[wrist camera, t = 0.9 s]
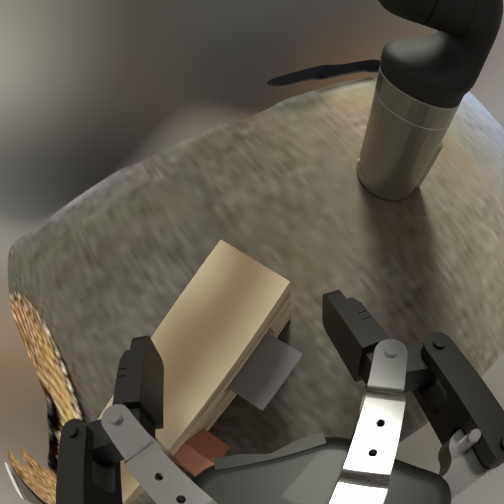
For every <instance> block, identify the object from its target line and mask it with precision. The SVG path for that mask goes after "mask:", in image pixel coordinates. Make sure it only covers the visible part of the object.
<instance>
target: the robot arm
mask: <svg viewBox="0 0 504 504" xmlns="http://www.w3.org/2000/svg"><path fill="white" fill-rule="evenodd" d="M378 1H379V2H380V3H381V5H382V6H383V7H384V8H385V9H386V10H388V11H389V12H391V13H392V14H395V15H397V16H399V17H402V18H404V19H407V20H409V21H412V22H416V23H419V24H422V25H425V26H428V27H430V28H433V29H436V30H439V31H438V32H437V33H435V34H433V35H430V36H426V37H421V38H409V39H397V40H393V41H390V42H388V43H387V44H386V45H385V47H384V48H383V51H382V56H381V61H380V67H379V73H378V78H377V83H376V88H375V93H374V98H373V102H372V107H371V111H370V116H369V120H368V124H367V128H366V132H365V136H364V140H363V144H362V148H361V152H360V156H359V159H358V163H357V174H358V176H359V179H360V181H361V182H362V184H363V185H364V186H365V187H366V189H368V190H369V191H370V192H371V193H372V194H374V195H376V196H377V197H380V198H382V199H385V200H390V201H398V200H403V199H405V198H407V197H408V196H409V195H410V194H411V193H412V191H413V190H414V188H417V187H420V185H421V183H422V182H423V180H424V178H425V177H426V175H427V174H428V172H429V170H430V168H431V167H432V165H433V163H434V162H435V160H436V158H437V156H438V155H439V153H440V151H441V149H442V147H443V144H442V142H441V141H442V139H443V137H444V135H445V133H446V131H447V129H448V127H449V125H450V123H451V121H452V119H453V117H454V115H455V113H456V111H457V109H458V106H459V104H460V102H461V100H462V98H463V96H464V95H465V94H466V93H467V92H468V91H470V89H471V88H472V87H473V85H474V84H475V82H476V80H477V78H478V76H479V74H480V71H481V69H482V67H483V65H484V63H485V61H486V59H487V57H488V54H489V52H490V50H491V48H492V46H493V43H494V41H495V39H496V36H497V33H498V30H499V28H500V24H501V20H502V15H503V0H378ZM323 325H324V328H325V330H326V332H327V334H328V336H329V337H330V339H331V341H332V343H333V344H334V346H335V348H336V349H337V351H338V353H339V355H340V356H341V358H342V360H343V361H344V363H345V365H346V367H347V368H348V370H349V372H350V374H351V375H352V377H353V379H354V381H355V382H358V381H360V380H364V382H365V383H366V386H365V390H364V394H363V398H362V402H361V405H360V409H359V413H358V416H357V420H356V423H355V426H354V429H353V432H352V435H351V438H350V439H346V438H340V437H326V438H324V435H323V433H322V432H321V433H318V434H315V435H312V436H309V437H305V438H302V439H299V440H296V441H294V442H292V443H290V444H288V445H287V446H285V447H283V448H281V449H279V450H277V451H275V452H273V453H270V454H237V455H231V456H225V457H219V458H213V459H214V465H212V466H210V467H208V468H206V469H204V470H203V471H201V472H200V473H199V474H197V475H196V476H195V475H194V474H193V473H192V472H191V471H189V470H188V469H187V468H186V467H185V466H184V465H183V464H182V463H181V462H180V461H178V460H177V459H176V458H175V456H174V455H173V454H172V453H171V452H170V451H169V450H168V449H167V448H166V447H165V446H164V445H163V444H162V443H161V442H160V441H159V440H158V438H157V437H156V436H155V429H163V428H164V421H163V397H164V365H163V361H162V358H161V356H160V354H159V353H158V351H157V349H156V347H155V345H154V344H153V342H152V340H151V338H150V337H149V336H143V337H137V338H133V339H132V342H131V348H130V350H127V351H125V352H124V354H123V355H122V357H121V358H120V361H119V367H118V372H117V378H116V384H115V390H114V396H113V403H112V406H110V407H108V408H107V409H106V410H105V411H104V413H103V415H102V418H101V419H99V420H96V421H93V422H91V423H88V424H85V423H84V422H82V421H81V420H79V419H71V420H69V421H68V422H66V423H65V425H64V426H63V428H62V431H61V438H60V446H59V455H58V467H57V483H56V504H123V500H122V487H121V466H120V461H122V460H125V462H124V464H125V466H126V467H127V469H128V470H129V471H130V473H131V474H132V475H133V476H134V478H135V479H136V480H137V481H138V483H139V484H140V485H141V486H142V487H143V489H144V490H145V491H146V492H147V493H148V495H149V496H150V497H151V498H152V499H153V500H154V501H155V502H156V504H451V498H453V497H454V496H455V495H457V494H459V493H460V492H461V491H463V490H464V489H466V488H467V487H468V486H470V485H471V484H472V483H473V482H475V481H476V480H477V479H479V478H480V477H482V476H484V475H485V474H487V473H489V472H490V471H492V470H493V469H495V468H496V467H498V466H500V465H501V464H502V463H504V411H503V409H502V407H501V406H500V404H499V403H498V401H497V400H496V399H495V397H494V396H493V394H492V393H491V391H490V390H489V388H488V387H487V386H486V384H485V383H484V381H483V380H482V379H481V377H480V376H479V374H478V373H477V372H476V370H475V369H474V368H473V366H472V365H471V364H470V362H469V361H468V360H467V359H466V357H465V356H464V355H463V353H462V352H461V351H460V350H459V348H458V347H457V346H456V345H455V343H454V342H453V341H452V340H451V339H450V338H449V337H448V336H447V335H445V334H443V333H440V332H434V333H431V334H429V335H428V336H427V337H426V338H425V340H424V343H420V344H413V345H404V344H403V343H402V342H400V341H398V340H395V339H390V338H389V337H388V336H387V334H386V333H385V332H384V331H383V329H382V328H381V327H380V325H379V324H378V323H377V322H376V320H375V319H374V318H373V317H372V315H371V314H370V313H369V312H368V311H367V309H366V308H365V307H364V306H363V304H362V303H361V302H359V301H357V300H356V299H354V298H352V297H351V298H348V299H346V297H345V296H344V295H343V294H342V292H341V291H340V290H336V291H333V292H330V293H326V294H324V295H323ZM411 390H412V392H413V394H414V395H415V397H416V399H417V401H418V402H419V404H420V406H421V408H422V409H423V411H424V413H425V415H426V416H427V418H428V420H429V422H430V423H431V425H432V427H433V429H434V431H435V433H436V434H437V436H438V438H439V440H440V442H441V444H442V447H441V448H440V451H439V455H438V458H439V463H440V472H439V475H438V474H436V473H434V472H431V471H428V470H425V469H422V468H419V467H416V466H413V465H410V464H408V463H405V462H403V461H400V460H397V459H395V454H396V449H397V446H398V441H399V436H400V431H401V426H402V420H403V415H404V408H405V402H406V394H404V392H405V391H411Z"/></svg>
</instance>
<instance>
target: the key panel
mask: <svg viewBox="0 0 504 504" xmlns="http://www.w3.org/2000/svg"><path fill="white" fill-rule="evenodd" d="M290 317H291V313H290V281H288V280H287V279H285V278H283V277H282V276H280V275H278V274H277V273H275V272H273V271H272V270H270V269H268V268H267V267H265V266H263V265H262V264H260V263H258V262H257V261H255V260H253V259H252V258H250V257H248V256H247V255H245V254H244V253H242V252H240V251H239V250H237V249H235V248H234V247H232V246H230V245H229V244H227V243H225V242H224V241H222V240H220V241H219V243H218V244H217V245H216V247H215V248H214V249H213V251H212V252H211V254H210V255H209V256H208V258H207V259H206V260H205V262H204V263H203V265H202V266H201V267H200V269H199V270H198V272H197V273H196V274H195V276H194V277H193V279H192V280H191V281H190V283H189V284H188V286H187V287H186V288H185V290H184V291H183V293H182V294H181V295H180V297H179V298H178V300H177V301H176V303H175V304H174V305H173V307H172V308H171V310H170V311H169V313H168V314H167V315H166V317H165V318H164V320H163V321H162V323H161V324H160V326H159V327H158V329H157V330H156V331H155V333H154V334H153V336H152V337H151V340H152V342H153V344H154V345H155V347H156V349H157V351H158V353H159V354H160V356H161V358H162V361H163V365H164V397H163V421H164V428H163V429H155V436H156V437H157V438H158V440H159V441H160V442H161V443H162V444H163V445H164V446H165V447H166V448H167V449H168V450H169V451H170V452H171V453H172V454H173V455H174V456H175V455H176V453H177V452H178V451H179V450H180V449H181V447H182V446H183V445H184V444H185V443H186V442H187V441H189V440H190V439H191V438H193V437H194V436H195V435H197V434H198V433H199V432H200V431H202V430H203V429H205V430H207V431H209V430H210V429H211V427H212V426H213V425H214V424H215V422H216V421H217V420H218V418H219V417H220V416H221V415H222V413H223V412H224V411H225V409H226V408H227V407H228V406H229V404H230V403H231V402H232V400H233V399H234V398H235V396H236V395H237V394H236V393H235V392H234V391H232V390H231V389H229V388H228V387H229V385H230V384H231V383H232V381H233V380H234V379H235V377H236V376H237V375H238V373H239V372H240V370H241V369H242V368H243V366H244V365H245V363H246V362H247V361H248V359H249V358H250V356H251V355H252V353H253V352H254V351H255V349H256V348H257V346H258V345H259V343H260V342H261V340H262V339H263V338H264V336H265V335H266V333H267V332H268V333H270V334H271V335H273V336H274V337H276V338H277V337H278V336H279V334H280V333H281V331H282V330H283V328H284V327H285V325H286V324H287V322H288V321H289V319H290ZM113 396H114V395H113ZM112 403H113V397H112V398H111V400H110V401H109V403H108V404H107V406H106V408H105V409H104V411H105V410H106V409H107V408H108V407H110V406H112ZM104 411H103V412H102V414H101V415H100V417H99V419H101V418H102V415H103V413H104ZM99 419H98V420H99ZM124 462H125V460H122V461H120V466H121V487H122V500H123V504H128V503H130V502H131V501H132V500H134V499H135V498H137V497H138V496H139V495H141V494H142V493H143V492H145V490H144V489H143V487H142V486H141V485H140V484H139V483H138V481H137V480H136V479H135V478H134V476H133V475H132V474H131V473H130V471H129V470H128V469H127V467H126V466H125V464H124Z"/></svg>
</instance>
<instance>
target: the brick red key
mask: <svg viewBox="0 0 504 504" xmlns="http://www.w3.org/2000/svg"><path fill="white" fill-rule="evenodd" d="M229 448H230V446H228V445H227V444H225V443H224V442H222V441H221V440H219V439H218V438H217V437H215V436H214V435H212V434H211V433H209V432H208V431H207V430H205V429H203V430H202V431H200V432H199V433H198V434H197V435H195V436H194V437H193V438H191V439H190V440H189V441H187V442H186V443H185V444H184V445H183V446H182V447H181V449H180V450H179V451H178V452H177V453H176V455H175V458H176V459H177V460H178V461H180V462H181V463H182V464H183V465H184V466H185V467H186V468H187V469H188V470H189V471H191V472H192V473H193V474H194V475H195V476H196V475H197V474H199V473H200V472H201V471H203V470H204V469H206V468H208V467H210V466H212V465H214V459H213V458H219V457H224V455H225V454H226V453H227V451H228V450H229Z"/></svg>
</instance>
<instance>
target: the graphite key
mask: <svg viewBox="0 0 504 504" xmlns="http://www.w3.org/2000/svg"><path fill="white" fill-rule="evenodd" d="M302 355H303V354H302V353H300V352H298V351H297V350H295V349H293V348H292V347H290V346H289V345H287V344H285V343H284V342H282V341H281V340H279V339H278V338H276V337H274V336H273V335H271V334H270V333H268V332H267V333H266V335H265V336H264V338H263V339H262V340H261V342H260V343H259V345H258V346H257V348H256V349H255V351H254V352H253V353H252V355H251V356H250V358H249V359H248V361H247V362H246V363H245V365H244V366H243V368H242V369H241V370H240V372H239V373H238V375H237V376H236V377H235V379H234V380H233V381H232V383H231V384H230V385H229V387H228V388H229V389H231V390H232V391H234V392H235V393H236V394H238V395H239V396H241V397H242V398H244V399H245V400H247V401H248V402H250V403H251V404H253V405H254V406H256V407H258V408H259V409H261V410H262V411H263V409H264V408H265V407H266V406H267V404H268V403H269V402H270V400H271V399H272V397H273V396H274V395H275V393H276V392H277V391H278V389H279V388H280V387H281V385H282V384H283V382H284V381H285V379H286V378H287V377H288V375H289V374H290V372H291V371H292V369H293V368H294V367H295V365H296V364H297V362H298V361H299V359H300V358H301V356H302Z"/></svg>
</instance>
